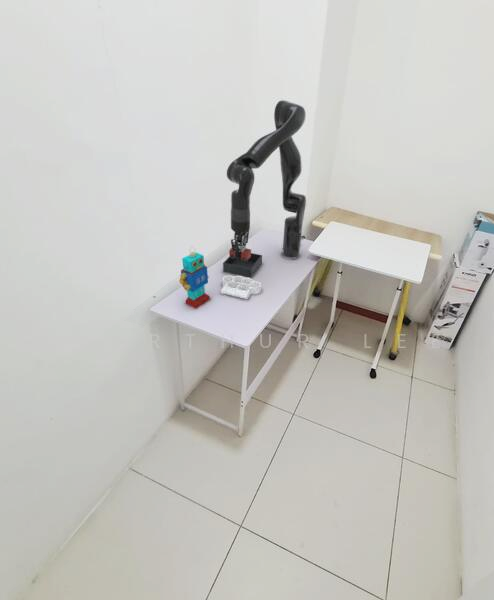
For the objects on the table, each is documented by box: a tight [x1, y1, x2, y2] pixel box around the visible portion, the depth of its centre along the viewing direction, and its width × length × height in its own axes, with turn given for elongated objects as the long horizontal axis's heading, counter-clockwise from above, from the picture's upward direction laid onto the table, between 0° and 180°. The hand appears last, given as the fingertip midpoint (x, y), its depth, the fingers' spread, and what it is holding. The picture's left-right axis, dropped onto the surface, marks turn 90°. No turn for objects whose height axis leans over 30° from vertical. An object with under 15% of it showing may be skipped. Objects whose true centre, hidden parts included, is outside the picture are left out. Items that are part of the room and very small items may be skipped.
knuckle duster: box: [220, 274, 262, 300], centre depth 148 cm, size 3×18×15 cm
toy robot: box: [178, 246, 211, 309], centre depth 132 cm, size 12×6×25 cm, turn 148°
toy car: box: [228, 245, 252, 261], centre depth 140 cm, size 8×4×5 cm, turn 75°
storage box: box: [222, 252, 263, 279], centre depth 163 cm, size 15×14×5 cm
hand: (240, 256), depth 141 cm, fingers closed on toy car, 4 cm apart
